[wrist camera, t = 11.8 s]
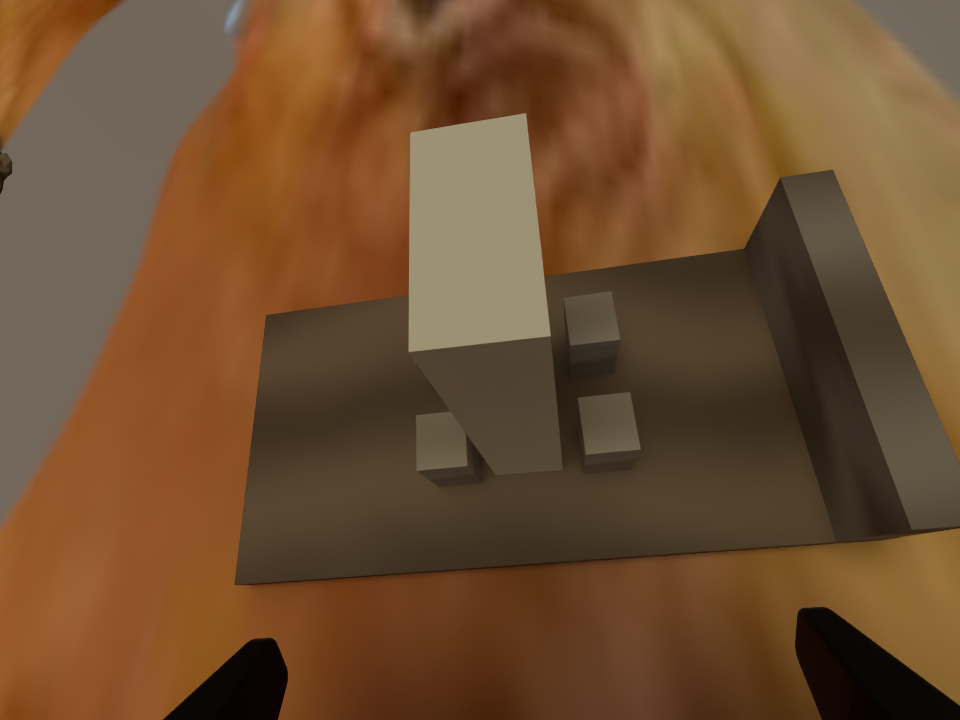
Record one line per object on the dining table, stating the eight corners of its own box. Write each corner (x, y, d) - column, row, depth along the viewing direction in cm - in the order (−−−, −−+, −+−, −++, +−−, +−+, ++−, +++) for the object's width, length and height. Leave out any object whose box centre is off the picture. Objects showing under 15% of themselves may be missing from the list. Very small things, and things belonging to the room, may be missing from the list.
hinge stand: (881, 539, 17) (994, 524, 12) (250, 584, 20) (153, 585, 15) (783, 256, 21) (839, 168, 17) (277, 325, 24) (209, 265, 20)
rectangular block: (562, 469, 19) (550, 336, 9) (473, 476, 19) (363, 357, 9) (548, 342, 21) (525, 113, 11) (468, 350, 21) (373, 138, 11)
